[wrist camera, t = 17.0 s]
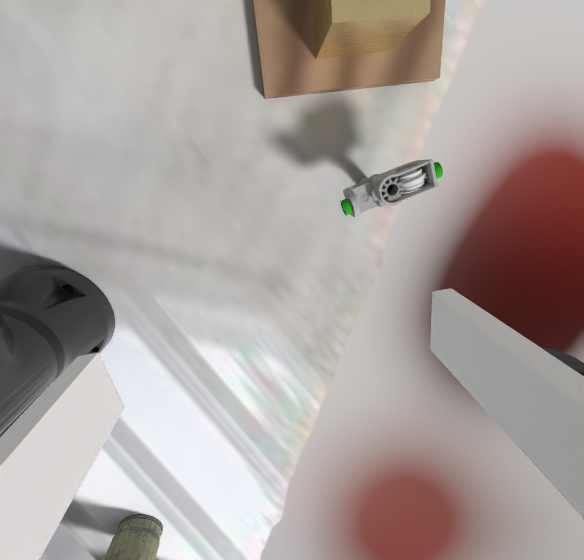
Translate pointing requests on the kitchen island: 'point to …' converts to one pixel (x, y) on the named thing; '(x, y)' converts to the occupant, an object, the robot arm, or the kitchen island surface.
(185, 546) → the kitchen island surface
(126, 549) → the thermos
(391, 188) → the mechanical component
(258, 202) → the kitchen island surface
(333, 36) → the hollow square tube
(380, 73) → the wooden base with rod
